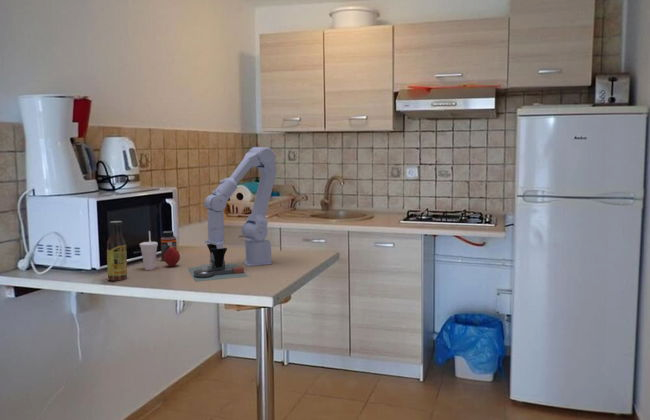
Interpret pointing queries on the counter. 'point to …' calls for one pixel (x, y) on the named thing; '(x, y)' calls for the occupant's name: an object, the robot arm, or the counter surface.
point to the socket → (212, 263)
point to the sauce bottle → (116, 253)
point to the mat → (216, 277)
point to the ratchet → (216, 271)
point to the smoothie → (149, 253)
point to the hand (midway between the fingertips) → (217, 265)
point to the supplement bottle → (167, 242)
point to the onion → (171, 256)
